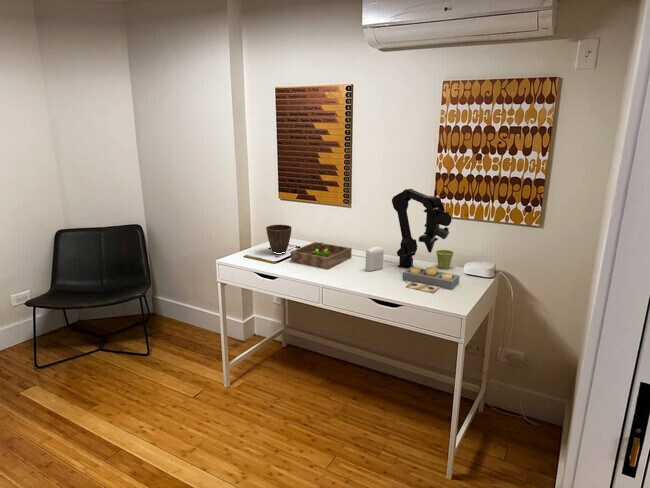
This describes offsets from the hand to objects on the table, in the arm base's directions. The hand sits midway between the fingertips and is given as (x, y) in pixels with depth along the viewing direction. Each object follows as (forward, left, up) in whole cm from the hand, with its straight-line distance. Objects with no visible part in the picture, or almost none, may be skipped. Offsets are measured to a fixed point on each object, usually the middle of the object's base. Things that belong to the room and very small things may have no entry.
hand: (429, 252), depth 231 cm
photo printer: (-28, -6, -13) cm, 31 cm away
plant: (-61, -7, -13) cm, 63 cm away
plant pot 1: (-89, -10, -13) cm, 91 cm away
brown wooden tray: (-61, -7, -12) cm, 63 cm away
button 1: (-4, -8, -12) cm, 15 cm away
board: (+4, -8, -12) cm, 15 cm away
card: (+4, -18, -12) cm, 23 cm away
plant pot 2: (+2, +18, -13) cm, 22 cm away
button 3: (+12, -8, -12) cm, 19 cm away
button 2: (+4, -8, -10) cm, 13 cm away
